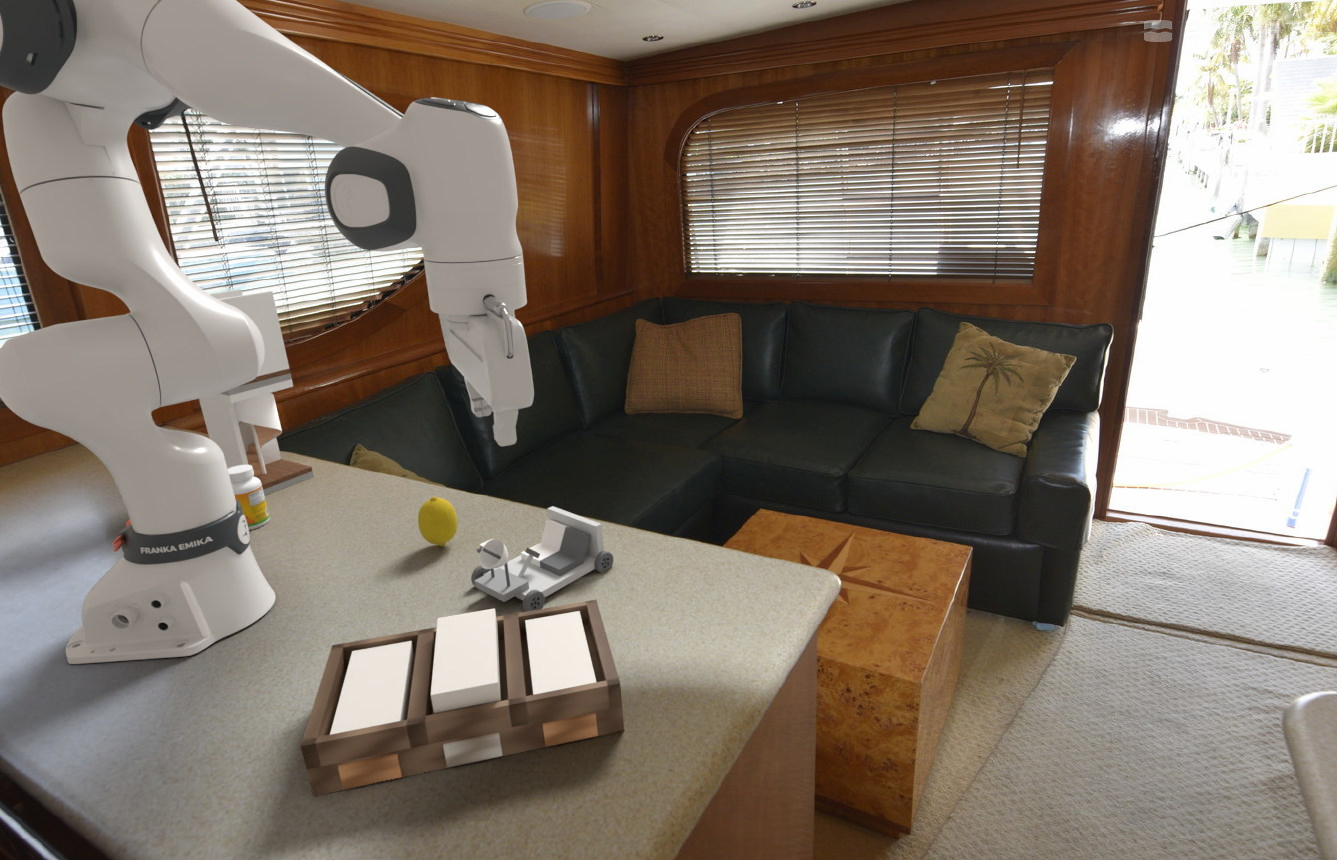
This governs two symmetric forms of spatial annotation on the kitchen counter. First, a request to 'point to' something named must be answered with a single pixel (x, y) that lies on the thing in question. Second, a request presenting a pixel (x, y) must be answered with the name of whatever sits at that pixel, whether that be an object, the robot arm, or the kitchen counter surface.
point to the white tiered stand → (255, 403)
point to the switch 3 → (558, 653)
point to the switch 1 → (375, 687)
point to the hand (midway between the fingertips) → (493, 428)
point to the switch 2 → (466, 661)
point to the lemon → (437, 521)
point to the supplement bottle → (249, 495)
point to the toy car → (543, 560)
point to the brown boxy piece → (461, 710)
